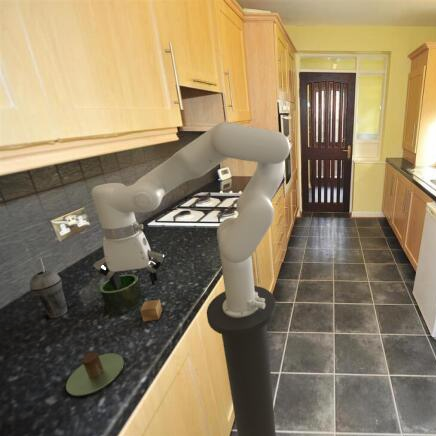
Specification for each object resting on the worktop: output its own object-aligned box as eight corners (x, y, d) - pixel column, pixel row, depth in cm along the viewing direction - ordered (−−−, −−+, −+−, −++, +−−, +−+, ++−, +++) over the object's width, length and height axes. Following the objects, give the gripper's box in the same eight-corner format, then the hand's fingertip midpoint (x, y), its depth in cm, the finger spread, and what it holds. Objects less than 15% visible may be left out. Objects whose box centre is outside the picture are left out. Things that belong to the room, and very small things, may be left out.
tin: (149, 297, 95) (144, 277, 92) (123, 317, 86) (116, 295, 83) (127, 292, 98) (121, 272, 95) (99, 310, 88) (91, 289, 85)
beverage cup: (37, 320, 85) (12, 265, 78) (60, 305, 91) (39, 253, 84) (56, 322, 84) (32, 266, 77) (78, 307, 90) (58, 254, 83)
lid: (135, 362, 70) (129, 344, 67) (90, 404, 59) (82, 385, 57) (102, 352, 73) (96, 334, 71) (55, 390, 63) (46, 371, 60)
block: (162, 310, 88) (159, 299, 87) (158, 319, 84) (155, 308, 83) (147, 312, 87) (144, 301, 86) (143, 321, 83) (140, 310, 82)
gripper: (160, 222, 76) (172, 273, 82) (91, 228, 72) (108, 282, 78) (153, 232, 69) (166, 287, 75) (75, 240, 65) (96, 297, 72)
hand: (136, 284), depth 77 cm, fingers open, 9 cm apart
